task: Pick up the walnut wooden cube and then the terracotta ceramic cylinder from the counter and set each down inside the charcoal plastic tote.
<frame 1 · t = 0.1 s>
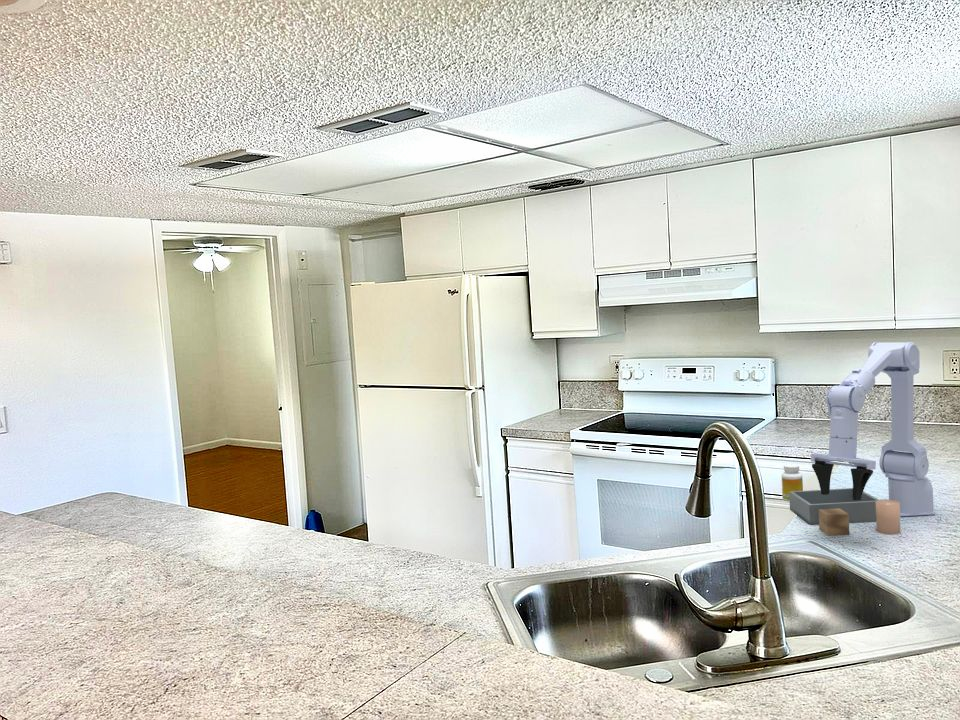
hand: (840, 497, 173), 10 cm above the counter, tool pointing down, fingers open, 7 cm apart
terracotta cylinder: (888, 531, 179), on the counter
tote: (834, 515, 194), on the counter
walnut cube: (834, 532, 181), on the counter
supplement bottle: (792, 500, 210), on the counter
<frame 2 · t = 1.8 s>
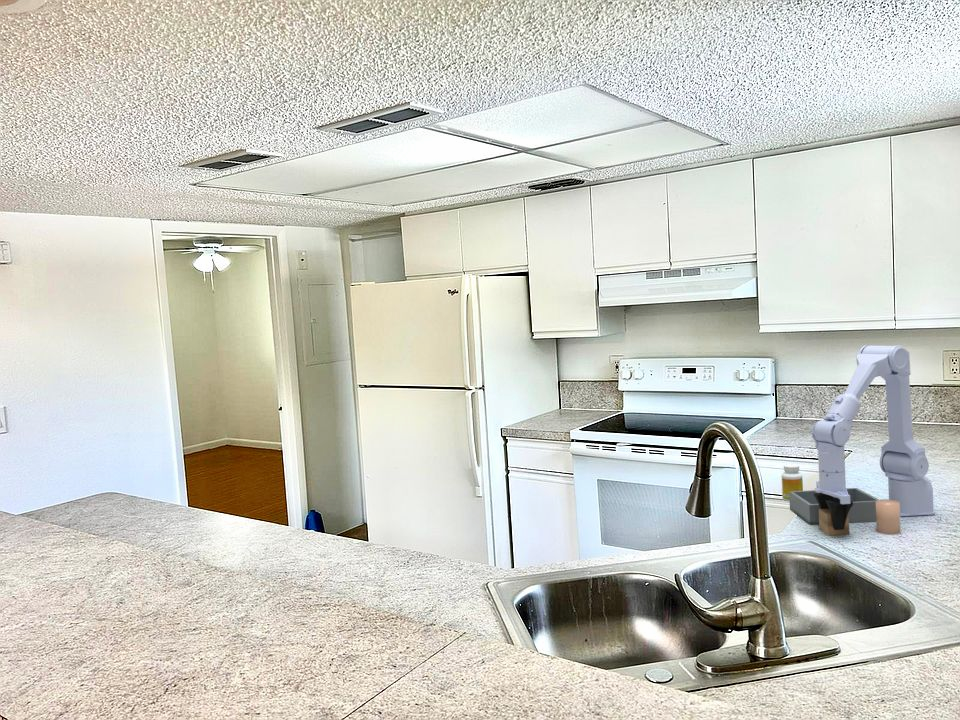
hand: (833, 525, 181), 1 cm above the counter, tool pointing down, fingers closed on walnut cube, 5 cm apart
walnut cube: (834, 531, 181), on the counter, touching gripper
everything else where it was.
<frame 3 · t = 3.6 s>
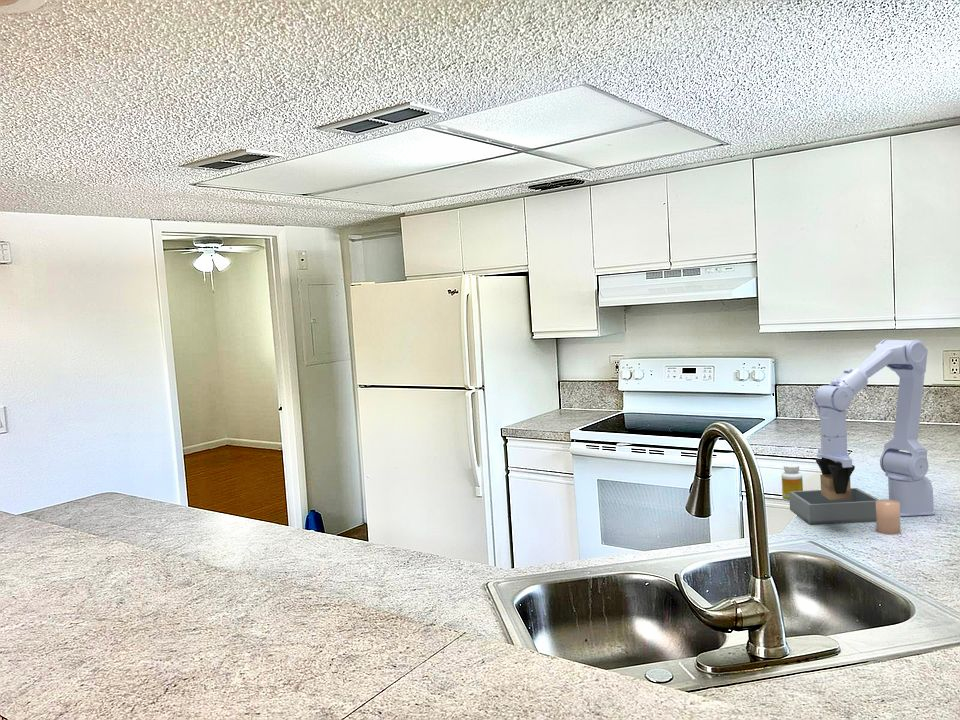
hand: (835, 490, 183), 9 cm above the counter, tool pointing down, fingers closed on walnut cube, 5 cm apart
walnut cube: (835, 496, 183), point 8 cm above the counter, touching gripper
everything else where it was.
when the fingers open (4 cm above the counter, at t = 5.8 s): walnut cube drops 2 cm, resting on tote.
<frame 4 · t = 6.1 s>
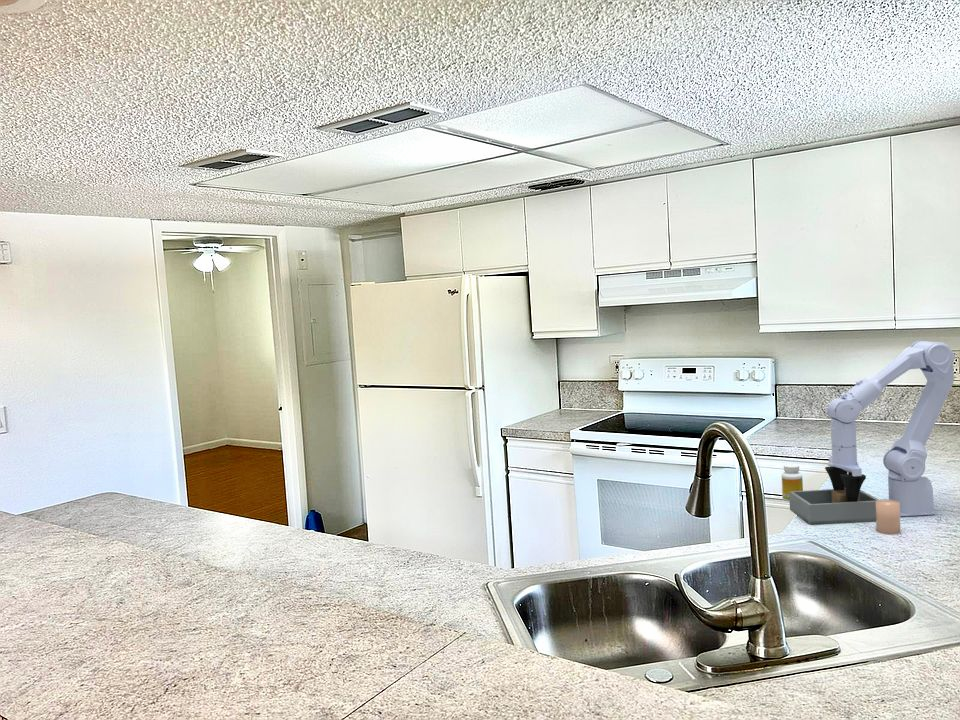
hand: (845, 497, 193), 4 cm above the counter, tool pointing down, fingers open, 7 cm apart
walnut cube: (846, 511, 193), point 1 cm above the counter, touching tote
everything else where it was.
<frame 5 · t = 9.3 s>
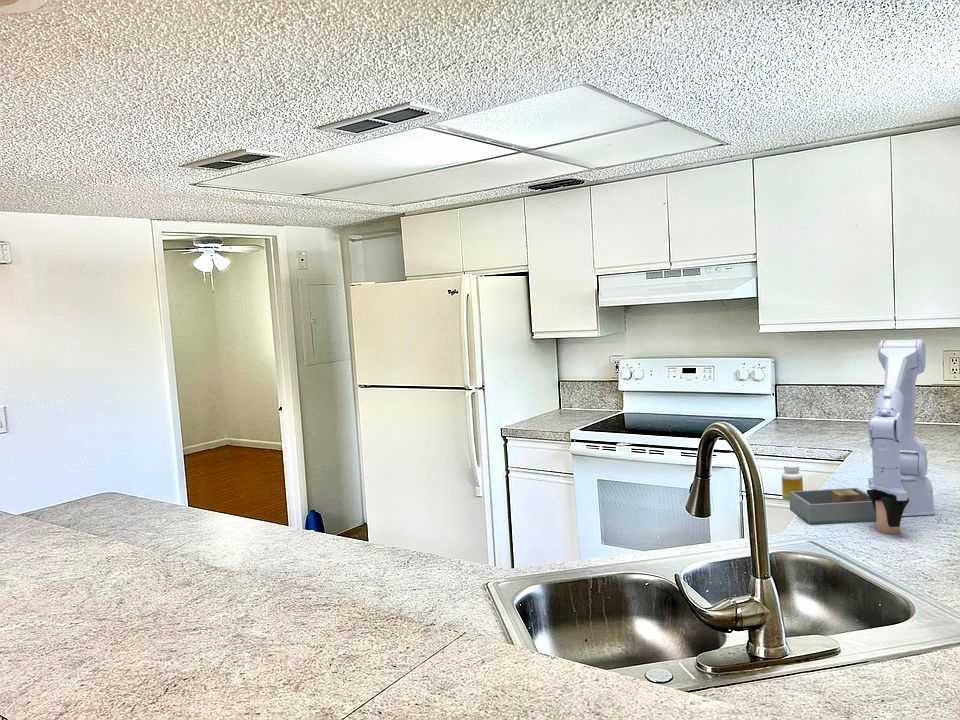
hand: (888, 522, 179), 2 cm above the counter, tool pointing down, fingers closed on terracotta cylinder, 5 cm apart
terracotta cylinder: (888, 530, 179), on the counter, touching gripper
everything else where it was.
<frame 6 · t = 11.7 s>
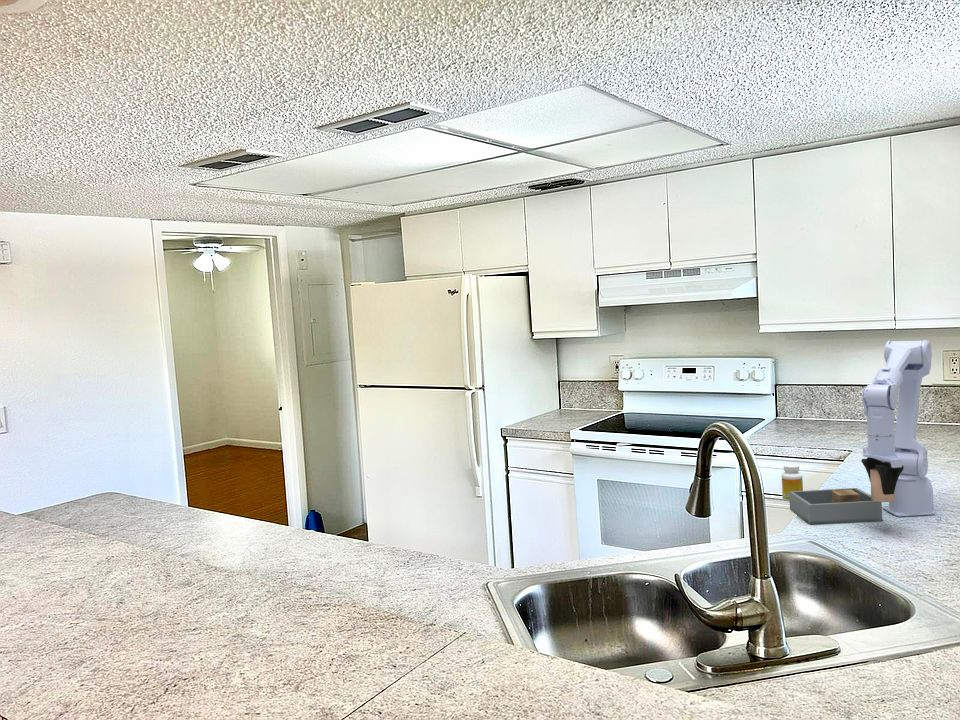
hand: (882, 491, 179), 9 cm above the counter, tool pointing down, fingers closed on terracotta cylinder, 5 cm apart
terracotta cylinder: (883, 499, 179), point 7 cm above the counter, touching gripper
everything else where it was.
when the fingers open (4 cm above the counter, at t = 14.5 s): terracotta cylinder drops 1 cm, resting on tote.
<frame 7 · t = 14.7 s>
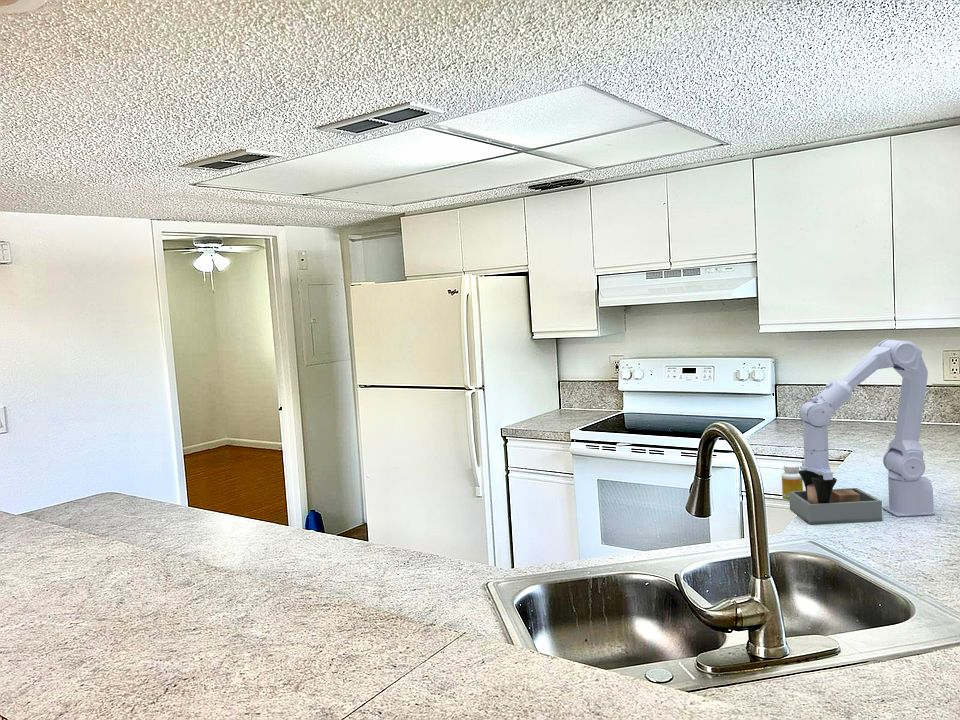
hand: (818, 501, 193), 4 cm above the counter, tool pointing down, fingers open, 6 cm apart
terracotta cylinder: (818, 513, 194), point 1 cm above the counter, touching tote
everything else where it was.
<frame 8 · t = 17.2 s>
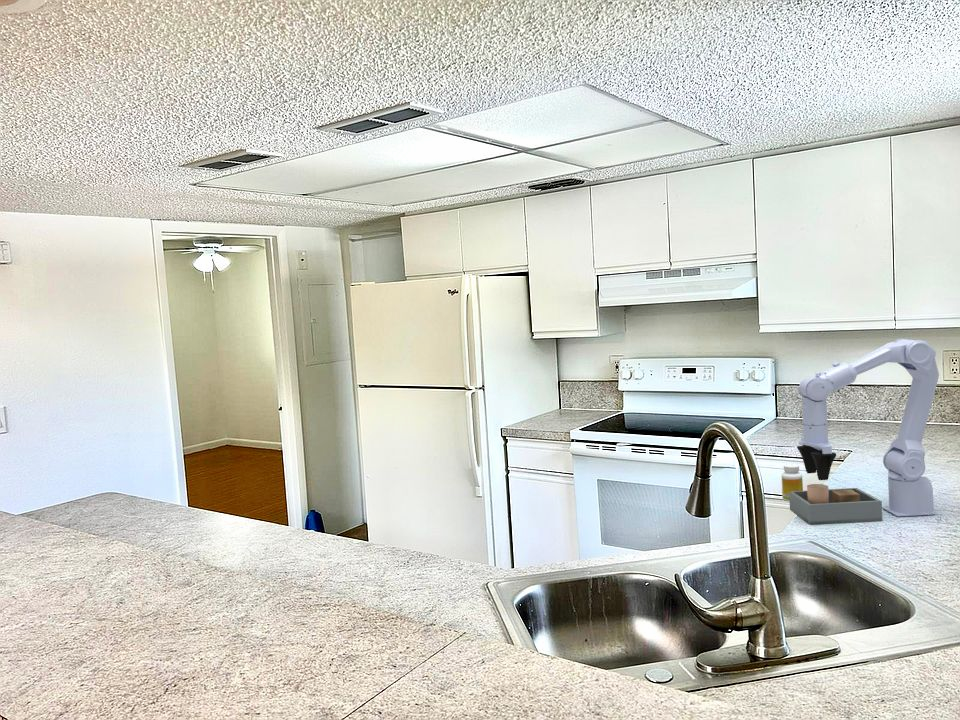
hand: (817, 476, 193), 10 cm above the counter, tool pointing down, fingers open, 7 cm apart
nothing on the counter moved.
at the end: walnut cube inside the target area on the tote (2.9 cm from its centre), point 0.8 cm above the tote's base; terracotta cylinder inside the target area on the tote (3.9 cm from its centre), point 0.8 cm above the tote's base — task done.
